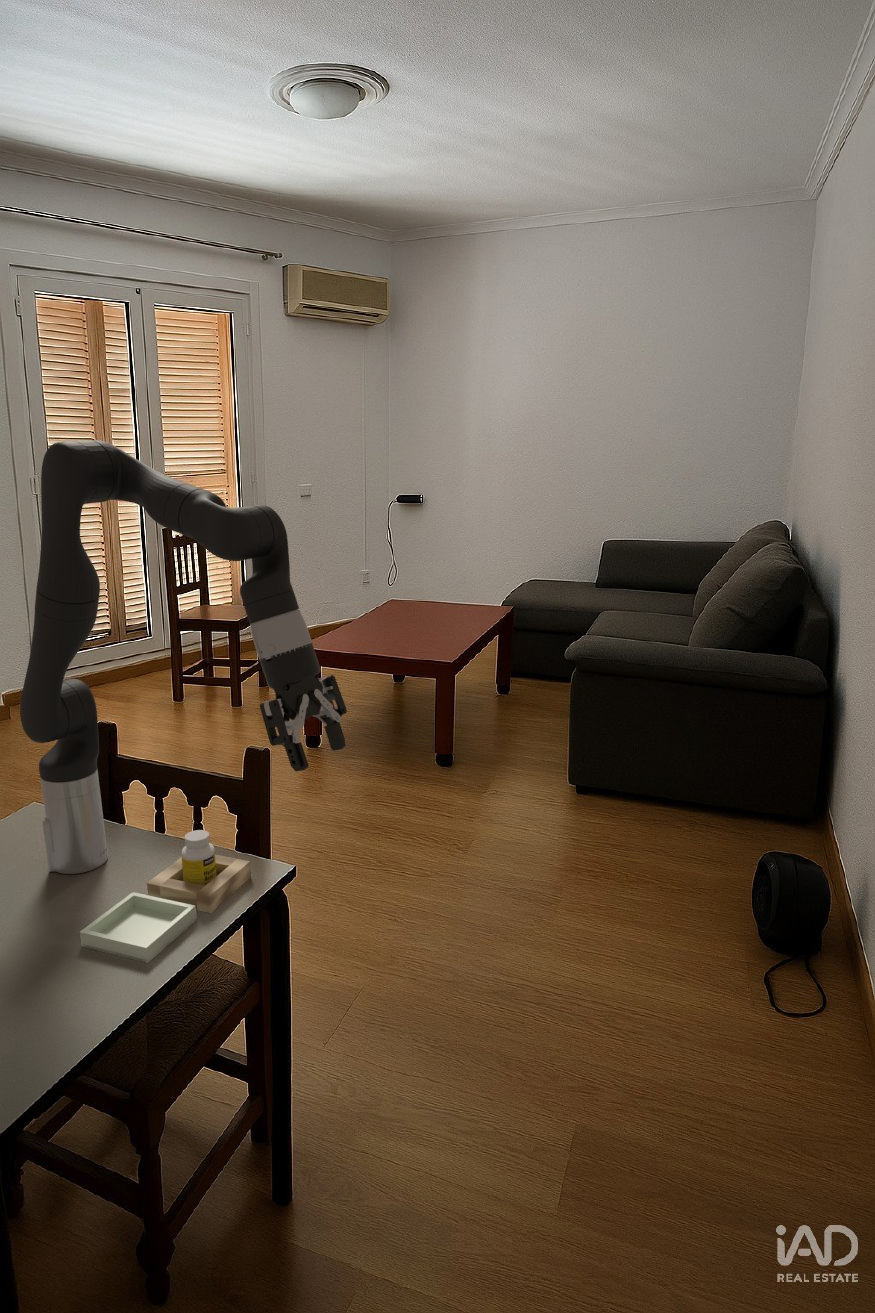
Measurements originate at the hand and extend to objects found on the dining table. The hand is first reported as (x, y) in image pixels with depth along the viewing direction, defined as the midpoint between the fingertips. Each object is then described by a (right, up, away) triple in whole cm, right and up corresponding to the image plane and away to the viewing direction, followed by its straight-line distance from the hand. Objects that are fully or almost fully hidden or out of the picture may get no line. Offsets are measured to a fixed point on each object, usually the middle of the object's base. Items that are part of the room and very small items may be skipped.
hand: (320, 759), depth 122 cm
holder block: (-24, -25, +26) cm, 43 cm away
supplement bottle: (-24, -25, +26) cm, 43 cm away
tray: (-29, -28, +13) cm, 43 cm away
